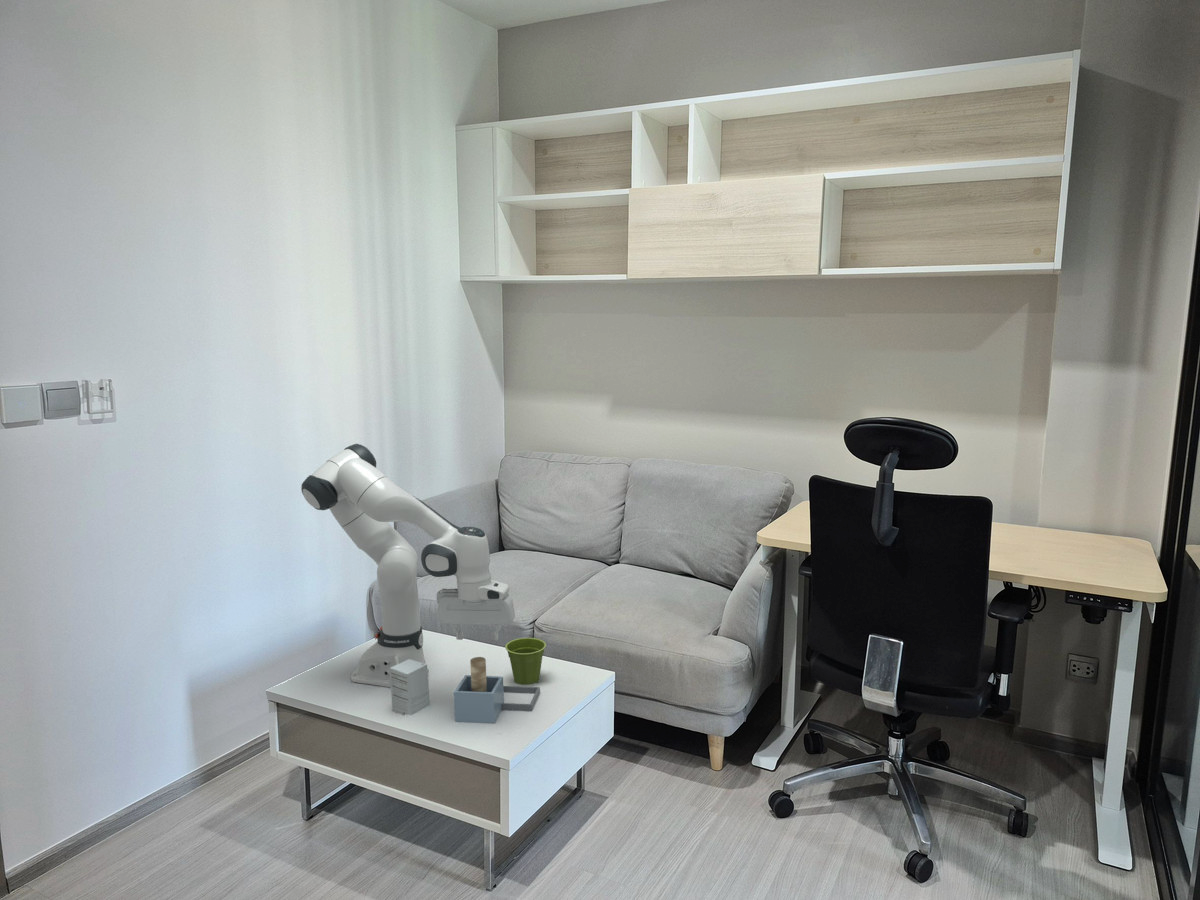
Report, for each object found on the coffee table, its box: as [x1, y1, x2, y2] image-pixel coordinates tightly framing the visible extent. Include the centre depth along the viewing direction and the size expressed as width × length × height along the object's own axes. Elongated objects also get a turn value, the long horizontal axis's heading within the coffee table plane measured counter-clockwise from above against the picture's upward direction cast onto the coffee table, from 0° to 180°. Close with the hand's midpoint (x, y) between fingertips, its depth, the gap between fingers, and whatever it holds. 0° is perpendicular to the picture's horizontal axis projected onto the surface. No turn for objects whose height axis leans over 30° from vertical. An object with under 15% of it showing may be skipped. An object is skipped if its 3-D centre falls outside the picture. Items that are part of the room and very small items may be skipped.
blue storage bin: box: [453, 674, 505, 725], centre depth 223 cm, size 11×11×9 cm
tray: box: [501, 685, 541, 712], centre depth 231 cm, size 11×11×2 cm
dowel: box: [469, 656, 487, 692], centre depth 223 cm, size 4×4×15 cm
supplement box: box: [390, 659, 430, 716], centre depth 228 cm, size 7×7×13 cm
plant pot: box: [504, 637, 547, 686], centre depth 244 cm, size 12×12×11 cm
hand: (477, 639), depth 221 cm, fingers open, 8 cm apart
